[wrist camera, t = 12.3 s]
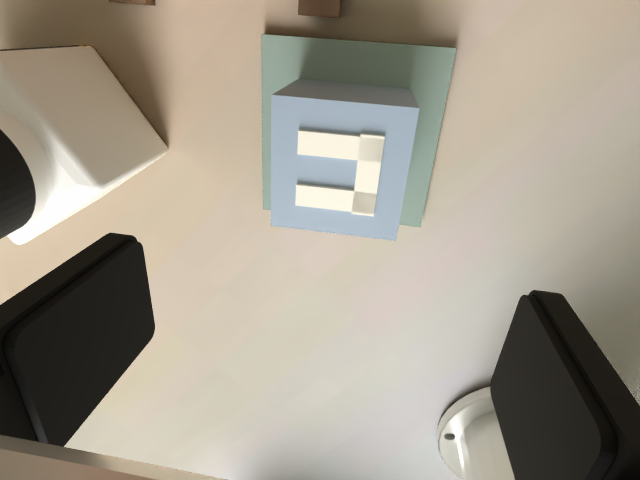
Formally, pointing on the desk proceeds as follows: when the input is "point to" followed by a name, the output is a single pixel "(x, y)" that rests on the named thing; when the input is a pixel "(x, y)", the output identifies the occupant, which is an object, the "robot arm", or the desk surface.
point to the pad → (370, 69)
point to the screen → (311, 3)
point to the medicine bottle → (64, 136)
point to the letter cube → (341, 157)
